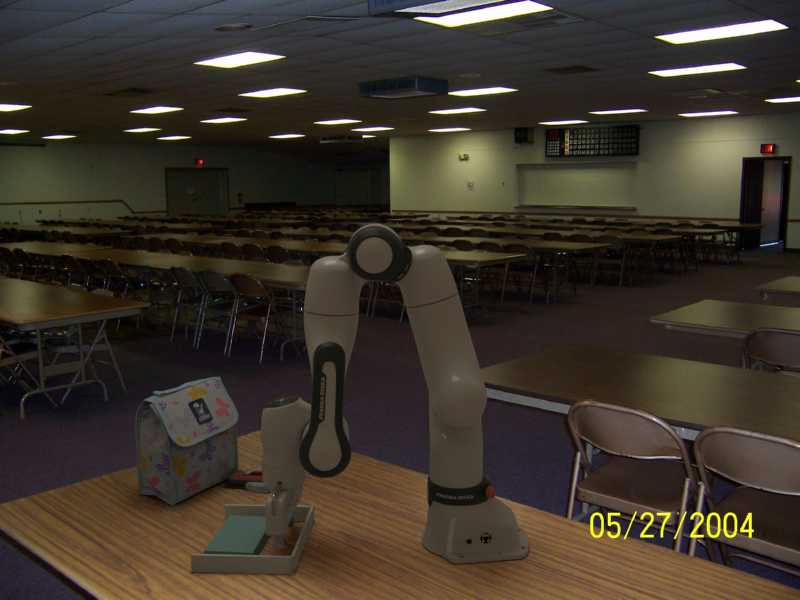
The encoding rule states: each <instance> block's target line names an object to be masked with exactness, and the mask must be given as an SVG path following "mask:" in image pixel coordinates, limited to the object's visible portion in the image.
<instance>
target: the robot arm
mask: <svg viewBox="0 0 800 600" xmlns="http://www.w3.org/2000/svg"><path fill="white" fill-rule="evenodd" d="M367 282H375V283H383V282H384V283H387V282H388V283H396V284H397V285H398V288H399V290H400V292H401V295H402V299H403V302H404V303H403V304H404V306H405V309H406V313H407V316H408V317H407V318H408V321H409V324H410V328H411V331H412V335H413V337H414V341H415V345H416V348H417V352H418V357H419V359H420V365H421V368H422V372H423V376H424V379H425V382H426V385H427V386H426V387H427V391H428V402H429V404H428V406H429V408H428V409H429V411H428V412H429V413H428V414H429V415H428V416H429V417H428V419H429V475H428V476H427V482H426V501H427V504H428V507H427V516H426V521H425V526H424V531H423V534H422V536H421V543H422V545H423V547H424V548H425V549H427V550H428V551H429V552H431V553H433V554H435V555H438V556H440V557H443V558H445V559H446V560H448V561H449V562H450V563H452V564H457V565H458V564H459V565H460V564H471V563H485V562H495V561H496V562H497V561H509V560H520V559H521V560H522V559H524V558H525V557H527V555H528V553H529V552H530V542H529V537H528V535H527V533H526V531H525V530H524V529H523V527H521V526H519V525H518V521H517V517H516V515H515V512H514V511H513V509H512V508H511V507H510V506H509V505H507V504H506V503H504V502H503V501H502V500H500V499H499V498H498V497H496V488H495V487H494V486H493V483H492V481H491V480H490V477H489V475H486V477H485V476H483V468H484V466H483V461H484V460H483V457H484V455H483V454H484V440H483V438H484V437H483V425H482V416H483V414H484V412H485V409H486V406H487V402H488V393H487V388H486V384H485V381H484V378H483V374H482V371H481V367H480V364H479V360H478V358H477V354H476V350H475V348H474V343H473V341H472V337H471V334H470V330H469V327H468V323H467V320H466V319H467V318H466V316H465V313H464V308H463V305H462V301H461V297H460V294H459V290H458V288H457V283H456V281H455V279H454V275H453V273H452V271H451V267H450V266H449V263H448V261H447V260H446V257H445V254H444V253H443V252H442V250H441V249H440V248H438V247H437V246H435V245H432V244H419V245H415V246H408V245H406V244H405V243H404V242H403V240H402V239H401V238H400V237H399V235H398V233H397V232H396V231H395V230H393V229H392V228H391V227H389V226H387V225H385V224H381V223H369V224H366V225H363V226H362V227H359V228H358V229H357V230H355V232H354V233H353V234H352V235H351V238H350V239H349V241H348V244H347V246H346V249H345V250H344V252H343V253H342V254H341V255H329V256H324V257H321V258H319V259H316V260H315V261H314V262H313V263H312V265H311V267H310V269H309V273H308V277H307V282H306V287H305V295H304V306H303V326H304V337H305V344H306V348H307V355H308V359H309V360H308V361H309V365H310V372H311V401H310V402H311V403H308V402H306V401H304V400H303V399H302V398H301V397H300V396H297V395H290V394H289V395H282V396H278V397H276V398H274V399H272V400H270V401H269V402H267V403H266V405H264V407H263V410H262V413H261V424H260V426H261V427H260V437H261V438H260V441H261V445H262V449H263V453H262V457H261V468H262V482H263V485H264V486H266V487H267V488H269V492H270V493H268V496H267V498H266V501H265V505H266V518H265V530H266V534H267V536H269V537H273V538H274V539H273V540H274V541H275V543H274V544H275V545H274V546H275V549H276V550H278V549H279V550H284V549H285V547H286V542H287V541H286V537H285V533H286V531H287V529H288V528H293V527H294V525H295V522H296V521H295V511H296V507H297V506H298V504H299V502H300V499H301V498H302V495H303V489H304V488H303V486H304V483H305V482H306V472H307V473H308V474H309V475H312V477H313V476H314V477H317V478H322V479H327V478H328V479H329V478H333V477H335V476H338V475H340V474H341V473H343V472H344V471H345V470H346V468H347V467H348V466H349V464H350V461H351V459H352V447H351V443H350V430H349V423H348V422H347V421H348V420H347V419H346V417H344V402H345V401H344V398H345V381H346V376H347V371H348V367H349V363H350V360H351V355H352V353H353V352H352V351H353V348H354V345H355V341H356V337H357V333H358V332H357V331H358V324H359V315H360V314H359V313H360V295H361V290H362V288H363V286H364V285H365V284H366V283H367Z"/></svg>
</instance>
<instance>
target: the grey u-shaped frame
mask: <svg viewBox="0 0 800 600" xmlns="http://www.w3.org/2000/svg"><path fill="white" fill-rule="evenodd" d="M230 515H239V516H262V517H266V504H239V503H235V504H234V503H231V504H230V503H229V504H227V503H226V504H224V520H225V521H226V520H227V519H228V517H229V516H230ZM295 522H304V523H303V525H302V528H301V530H300V533H299V535H298V538H297V540H296V543H295V546H294V548H293V551H292V553H291V555H273V554H271V555H270V554H269V555H265V554H263V555H262V554H259V555H228V554H204V553H191V554H190V565H191V566H190V568H191V569H190V570H191V572H192V573H216V574H217V573H221V574H222V573H223V574H225V573H226V574H260V575H262V574H267V575H270V574H271V575H295V573H296V570H297V568H298V565H299V562H300V560H301V557H302V554H303V552H304V549H305V546H306V543H307V542H308V538H309V535H310V533H311V531H312V530H311V529H312V527H313V525H314V522H315V506H314V505H297V507H296V511H295Z"/></svg>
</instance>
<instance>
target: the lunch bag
mask: <svg viewBox="0 0 800 600" xmlns="http://www.w3.org/2000/svg"><path fill="white" fill-rule="evenodd" d="M152 394H153V395H152V396H151V395H150V396H149V397H147V398H145V399H143V401H142V402H141V403H140V405H139V407H138V408H137V410H136V413H135V414H136V415H135V422H134V431H135V433H134V434H135V435H134V436H135V450H136V453H135V454H136V471H137V487H138V493H139V494H142V495H146V496H156V497H157V498H159V499H161V500H163V502H166V503H167V504H169V505H171V506H176V504H179V503H180V502H182V501H184V500H186V499H188V498H191V497H192V496H194V495H197V494H198V493H201V492H202V491H204V490H206V489H208V488H209V489H210V488H211V487H213V486H215V485H217V484H219V483H220V484H221V483H222V482H225V481H226V480H229V477H230V475H231V474H232V473H233V472H234V471H235V470H239V451H238V450H239V449H238V446H239V445H238V444H239V443H238V433H237V423H238V421H239V412H238V409H237V408H236V405H235V403H234V401H233V400H232V398H231V397H230V395H229V393H228V391H227V389H226V387H225V385H224V383H223V381H222V379H221V376H212V377H211V376H210V377H207V378H202V379H197V380H192V381H188V382H186V383H183V384H181V385H179V386H178V387H174V388H170V389H166V390H160V391H159V390H155V391H152Z"/></svg>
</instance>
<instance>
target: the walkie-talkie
mask: <svg viewBox="0 0 800 600" xmlns="http://www.w3.org/2000/svg"><path fill="white" fill-rule="evenodd" d="M223 483H224V486H226V487H229V488H230V489H243V490H247V491H249V492H251V493H256V494H267V495H269V494H270V493H269V492H270V491H269V488H267V487H266V486H264V485H263V482H262V467H257V466H256V467H255V468H253V469H252V470H249V469H248V468H247V467H245V468H244V469H238V470H235V471H234V472H233V473H232V474H231V475H230V477H229V479H228V480H227V481H226V480H225V481H224V482H223Z"/></svg>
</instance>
